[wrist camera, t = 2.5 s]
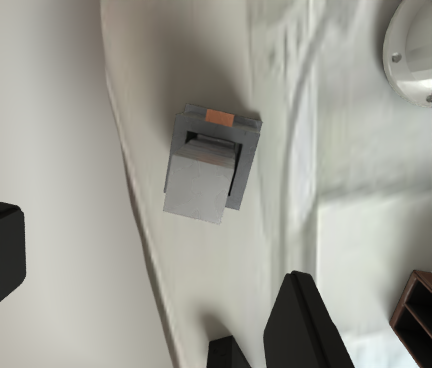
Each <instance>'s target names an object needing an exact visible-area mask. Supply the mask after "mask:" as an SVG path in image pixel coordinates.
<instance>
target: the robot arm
mask: <svg viewBox="0 0 432 368" xmlns="http://www.w3.org/2000/svg"><path fill="white" fill-rule="evenodd" d="M392 57H393V58H394V60H393V61H392ZM383 64H384V71H385V73H386V76H387V79H388V81H389V83H390V85H391V86H392V88H393V89H394V90H395V92H396V93H398V94H399V95H400V96H401V97H402V98H403V99H405V100H407V101H408V102H410V103H412V104H415V105H418V106H422V107H430V108H432V0H403V1H402V2H401V3H400V5H399V6H398V8H397V10H396V11H395V13H394V15H393V17H392V19H391V21H390V24H389V26H388V29H387V31H386V35H385V40H384V44H383ZM426 97H427V98H426ZM25 277H26V255H25V222H24V213H23V212H22V211H21V209H20V207H19V206H17V205H13V204H8V203H4V202H0V302H1V301H2V300H3V299H4V298H5V297H6V296H8V295H9V294H10V293H11V292H12V291H14V290H15V289H16V288H17V287H18V286H20V284H22V282H23V281H24V279H25ZM263 342H264V350H265V358H266V366H267V368H355V367H354V365H353V362H352V360H351V358H350V356H349V354H348V352H347V349H346V347H345V345H344V343H343V341H342V339H341V336H340V334H339V332H338V330H337V328H336V326H335V324H334V323H333V322H332V320H331V318H330V316H329V313H328V311H327V309H326V307H325V305H324V302H323V300H322V298H321V296H320V293H319V291H318V289H317V287H316V285H315V282H314V280H313V278H312V276H311V275H310V274H307V273H303V272H299V271H292V272H291V274H288V273H287V274H286V275H285V277H284V280H283V283H282V285H281V288H280V290H279V293H278V296H277V298H276V301H275V304H274V306H273V309H272V311H271V314H270V317H269V319H268V322H267V325H266V327H265V330H264V336H263Z"/></svg>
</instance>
